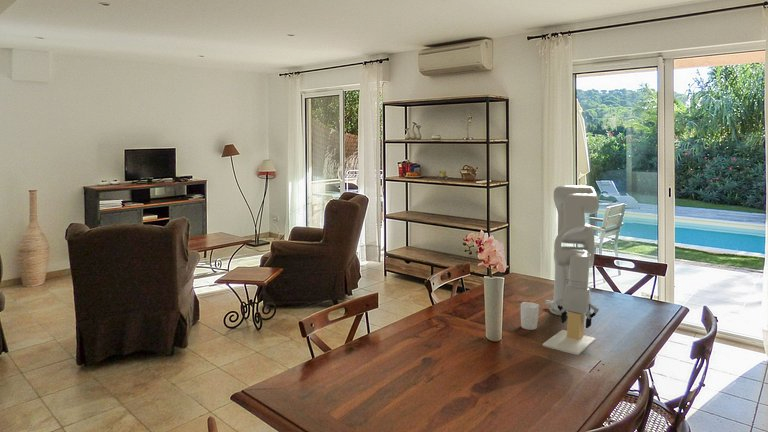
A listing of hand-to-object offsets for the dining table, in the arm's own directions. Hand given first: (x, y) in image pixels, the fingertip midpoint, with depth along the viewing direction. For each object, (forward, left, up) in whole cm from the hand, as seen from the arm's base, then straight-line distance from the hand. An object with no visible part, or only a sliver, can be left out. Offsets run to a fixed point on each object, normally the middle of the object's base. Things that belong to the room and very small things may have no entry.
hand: (575, 324), depth 209 cm
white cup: (-20, 0, -6) cm, 21 cm away
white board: (0, -6, -6) cm, 8 cm away
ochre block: (0, 0, -5) cm, 5 cm away
